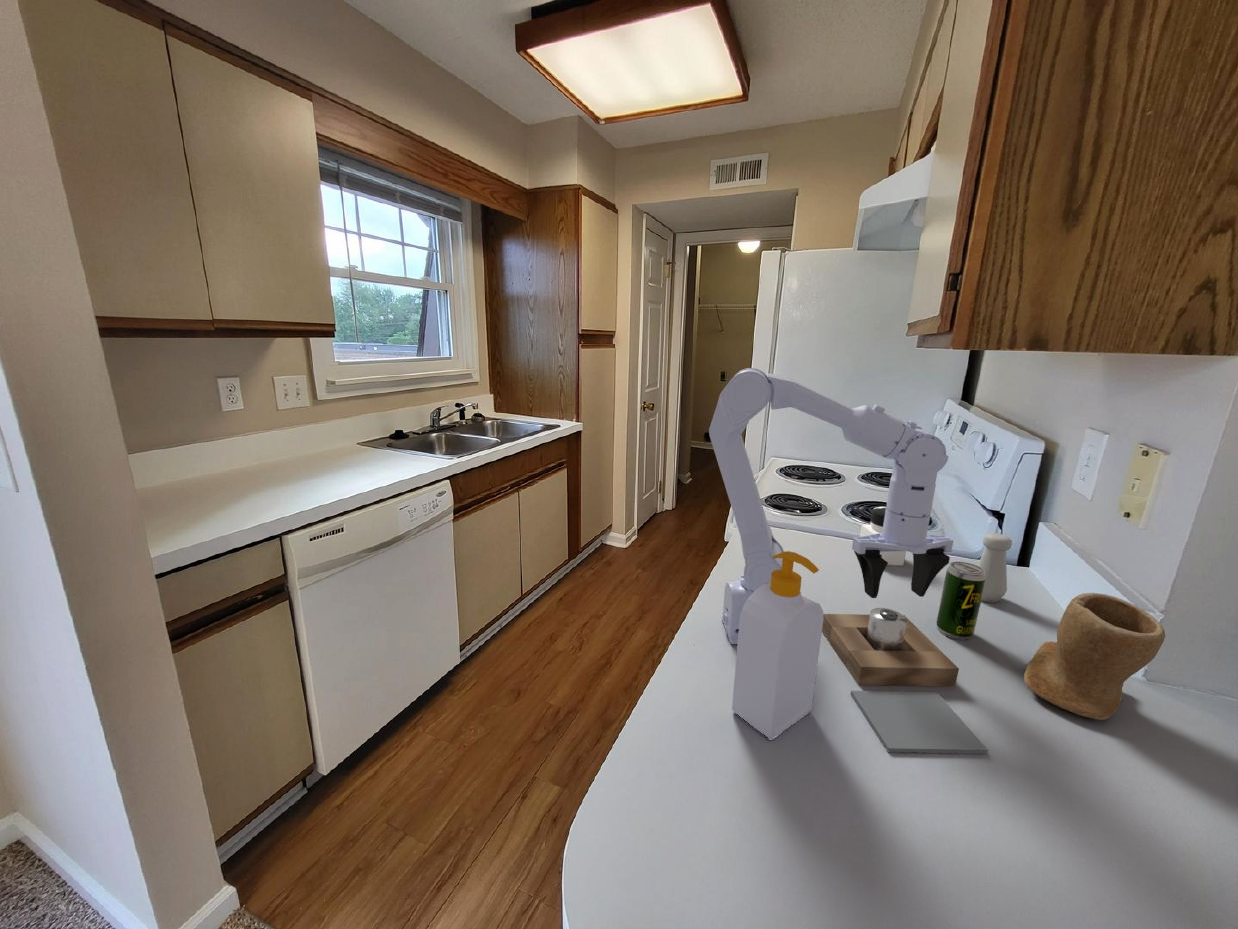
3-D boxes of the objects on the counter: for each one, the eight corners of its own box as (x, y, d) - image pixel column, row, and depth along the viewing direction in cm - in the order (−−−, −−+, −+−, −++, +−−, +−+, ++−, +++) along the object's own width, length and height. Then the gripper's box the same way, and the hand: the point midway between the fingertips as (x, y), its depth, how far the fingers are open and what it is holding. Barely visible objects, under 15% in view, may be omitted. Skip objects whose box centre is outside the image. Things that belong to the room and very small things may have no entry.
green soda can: (928, 625, 86) (940, 562, 83) (951, 621, 88) (964, 559, 85) (956, 643, 81) (970, 577, 78) (980, 638, 83) (995, 573, 80)
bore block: (858, 685, 71) (861, 667, 70) (820, 629, 85) (822, 613, 84) (955, 686, 71) (959, 668, 70) (901, 630, 85) (904, 615, 84)
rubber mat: (887, 752, 59) (888, 748, 59) (850, 694, 69) (851, 690, 69) (987, 754, 59) (988, 750, 59) (935, 695, 69) (936, 692, 69)
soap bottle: (775, 747, 60) (794, 575, 54) (730, 713, 65) (744, 553, 60) (816, 715, 65) (838, 555, 60) (772, 686, 71) (788, 537, 65)
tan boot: (1129, 746, 61) (1164, 639, 57) (1011, 693, 70) (1035, 598, 66) (1146, 694, 70) (1177, 599, 66) (1040, 653, 79) (1062, 567, 75)
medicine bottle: (903, 566, 109) (912, 515, 106) (871, 565, 109) (879, 514, 106) (887, 552, 116) (895, 504, 113) (857, 552, 116) (864, 503, 113)
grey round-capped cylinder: (873, 665, 75) (881, 622, 74) (858, 646, 80) (865, 604, 78) (906, 666, 75) (914, 622, 74) (889, 646, 80) (896, 605, 78)
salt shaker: (992, 591, 99) (1005, 530, 96) (1011, 606, 93) (1026, 542, 90) (961, 589, 99) (973, 529, 96) (978, 604, 94) (992, 540, 91)
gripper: (876, 521, 68) (863, 609, 71) (975, 519, 69) (957, 606, 73) (849, 504, 75) (838, 585, 78) (939, 503, 76) (925, 583, 79)
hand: (894, 594), depth 76 cm, fingers open, 7 cm apart
